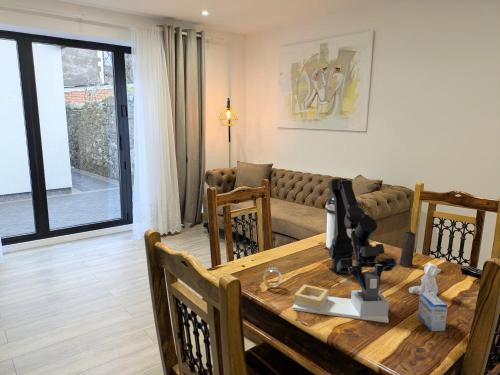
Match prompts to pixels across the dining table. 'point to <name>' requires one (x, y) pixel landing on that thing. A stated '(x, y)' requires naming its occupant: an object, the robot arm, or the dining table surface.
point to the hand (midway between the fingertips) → (371, 289)
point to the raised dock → (369, 305)
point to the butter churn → (408, 246)
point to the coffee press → (332, 223)
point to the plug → (370, 286)
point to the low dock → (311, 297)
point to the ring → (270, 272)
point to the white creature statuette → (427, 281)
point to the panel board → (340, 310)
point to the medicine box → (432, 311)
